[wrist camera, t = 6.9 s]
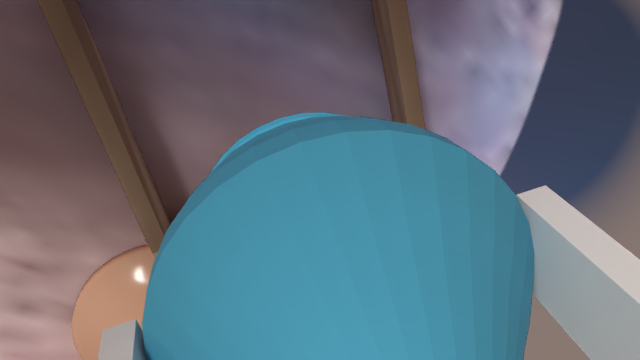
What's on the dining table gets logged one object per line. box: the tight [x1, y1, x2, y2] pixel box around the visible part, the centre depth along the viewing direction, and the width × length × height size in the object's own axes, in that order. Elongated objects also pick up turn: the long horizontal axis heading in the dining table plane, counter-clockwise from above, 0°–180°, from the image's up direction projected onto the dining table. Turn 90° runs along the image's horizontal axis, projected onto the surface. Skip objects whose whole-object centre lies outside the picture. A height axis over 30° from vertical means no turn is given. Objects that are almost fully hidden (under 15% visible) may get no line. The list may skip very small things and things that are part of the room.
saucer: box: [72, 245, 155, 360], centre depth 38 cm, size 12×12×1 cm
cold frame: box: [37, 0, 425, 258], centre depth 27 cm, size 17×18×12 cm
